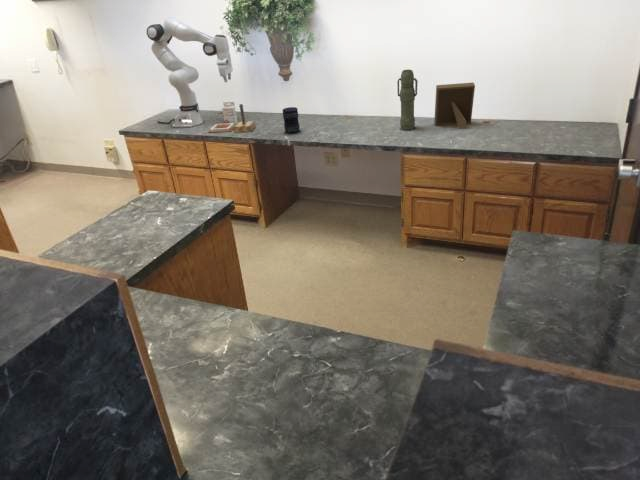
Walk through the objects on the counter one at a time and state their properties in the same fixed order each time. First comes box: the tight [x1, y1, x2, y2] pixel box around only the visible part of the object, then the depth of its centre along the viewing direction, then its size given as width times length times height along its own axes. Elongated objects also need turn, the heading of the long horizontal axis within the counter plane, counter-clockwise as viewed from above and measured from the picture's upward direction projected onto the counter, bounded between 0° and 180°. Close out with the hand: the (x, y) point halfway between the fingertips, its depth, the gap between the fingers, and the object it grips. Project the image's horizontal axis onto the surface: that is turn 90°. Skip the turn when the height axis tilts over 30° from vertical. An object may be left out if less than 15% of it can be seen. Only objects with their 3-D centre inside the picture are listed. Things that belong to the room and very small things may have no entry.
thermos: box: [397, 69, 419, 131], centre depth 308 cm, size 9×12×35 cm
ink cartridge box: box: [221, 101, 238, 125], centre depth 362 cm, size 9×5×15 cm, turn 84°
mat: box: [208, 127, 234, 134], centre depth 353 cm, size 16×14×1 cm
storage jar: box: [282, 106, 301, 135], centre depth 328 cm, size 10×10×15 cm
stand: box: [233, 103, 256, 134], centre depth 343 cm, size 12×12×18 cm
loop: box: [209, 123, 236, 133], centre depth 352 cm, size 14×14×2 cm
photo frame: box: [433, 82, 476, 129], centre depth 307 cm, size 15×22×25 cm
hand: (227, 80), depth 355 cm, fingers open, 8 cm apart
